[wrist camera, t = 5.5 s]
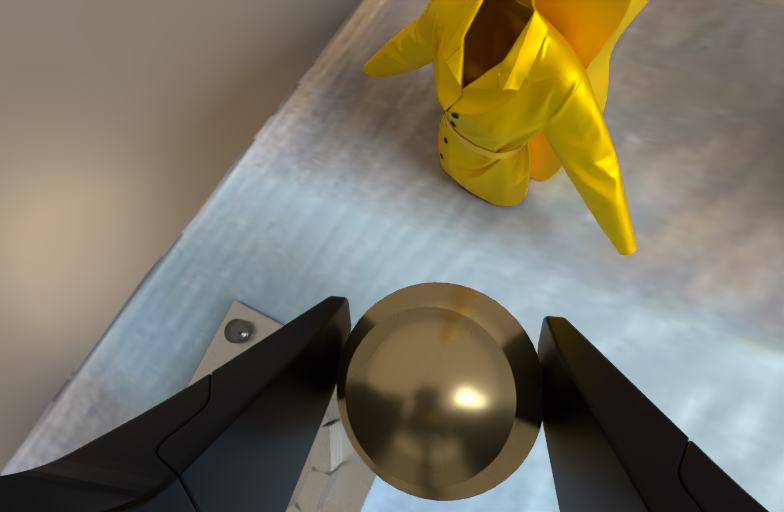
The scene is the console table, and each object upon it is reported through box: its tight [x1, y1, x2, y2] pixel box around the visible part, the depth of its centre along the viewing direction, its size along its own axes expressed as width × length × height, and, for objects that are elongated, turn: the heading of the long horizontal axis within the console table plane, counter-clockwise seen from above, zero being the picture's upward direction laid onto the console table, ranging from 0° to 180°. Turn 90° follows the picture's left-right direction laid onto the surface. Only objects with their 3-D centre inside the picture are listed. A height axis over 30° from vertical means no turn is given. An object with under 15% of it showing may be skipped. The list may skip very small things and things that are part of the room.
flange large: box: [187, 301, 376, 512], centre depth 21 cm, size 12×12×2 cm
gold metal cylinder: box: [337, 282, 543, 501], centre depth 11 cm, size 4×4×10 cm
